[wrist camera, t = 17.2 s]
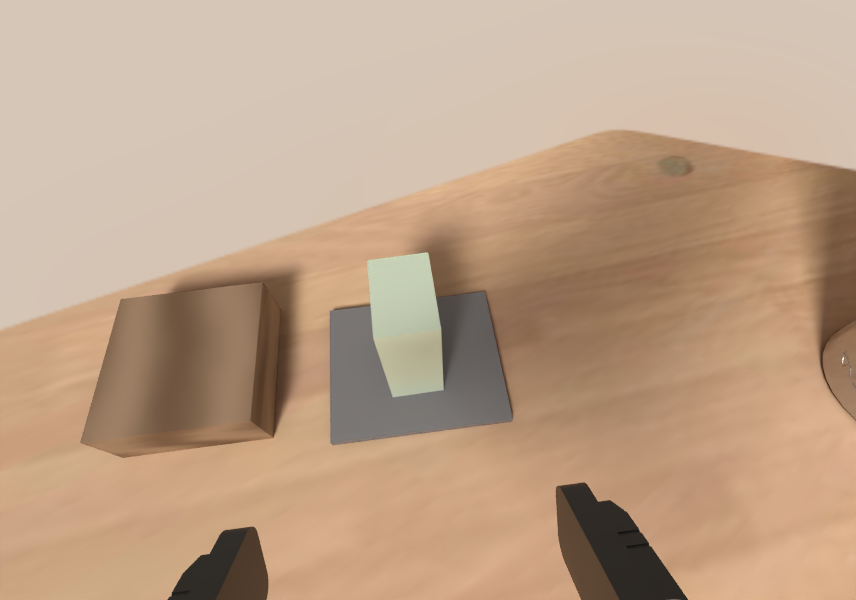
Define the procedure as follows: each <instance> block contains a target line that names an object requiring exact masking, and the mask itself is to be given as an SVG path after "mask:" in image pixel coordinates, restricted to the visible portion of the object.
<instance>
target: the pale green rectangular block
mask: <svg viewBox="0 0 856 600" xmlns="http://www.w3.org/2000/svg"><path fill="white" fill-rule="evenodd" d="M367 265H368V278H369V290H370V303H371V316H372V329H373V339H374V342H375V345H376V348H377V351H378V354H379V357H380V360H381V363H382V366H383V369H384V372H385V375H386V378H387V381H388V384H389V387H390V390H391V393H392V396H393V397H399V396H406V395H413V394H420V393H427V392H434V391H441V390H444V387H443V362H442V337H441V325H440V319H439V313H438V307H437V301H436V295H435V290H434V284H433V278H432V272H431V266H430V260H429V254H428V252H426V253H419V254H411V255H404V256H396V257H389V258H381V259H374V260H367Z"/></svg>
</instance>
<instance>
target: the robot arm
mask: <svg viewBox="0 0 856 600" xmlns="http://www.w3.org/2000/svg"><path fill="white" fill-rule="evenodd" d="M823 369H824V372H825V376H826V380H827V382H828V384H829V386H830V388H831V390H832V392H833V394H834V395H835V396H836V398H837V399H838V400H839V402H840V403H841V404H842V406H843V407H844V408H845V409H846V410H847V411H848V412H849V413H850V414H851V415H852V416H853V417H854V418H855V419H856V320H855V321H853V322H852V323H850V324H848V325H847V326H845V327H844V328H842V329H840V330H839V331H838V332H836V333H835V334H833V335H832V336H831V338H830V339H829V340H828V342H827V343H826V345H825V349H824V352H823ZM556 504H557V522H558V537H559V543H560V548H561V552H562V555H563V558H564V561H565V563H566V566H567V568H568V570H569V572H570V575H571V577H572V579H573V582H574V584H575V586H576V589H577V591H578V593H579V595H580V598H581V600H688V599H687V597H686V596H685V595H684V593H683V592H682V590H681V589H680V587H679V586H678V585H677V583H676V582H675V580H674V579H673V577H672V576H671V574H670V573H669V572H668V570H667V569H666V567H665V566H664V564H663V563H662V562H661V560H660V559H659V557H658V556H657V554H656V553H655V552H654V550H653V549H652V547H650V546H649V543H648V541H647V540H646V539H645V537H644V536H643V534H642V533H640V531H639V529H638V527H637V526H636V524H635V523H634V521H633V520H632V519H631V517H630V516H629V514H628V513H627V512H626V511H624V510H623V509H621V508H620V507H619V506H617V505H616V504H615V503H613V502H612V501H610V500H608V501H601V502H598V501H597V500H596V498H595V496H594V495H593V493H592V492H591V490H590V488H589V487H588V485H587V484H586V483H576V484H569V485H562V486H557V487H556ZM267 594H268V574H267V569H266V565H265V561H264V557H263V553H262V549H261V545H260V541H259V537H258V533H257V530H256V529H255V527H246V528H239V529H231V530H225V531H223V532H222V533H221V534H220V536H219V538H218V540H217V541H216V543H215V545H214V547H213V549H212V551H211V553H210V554H207V555H201V556H200V557H199V558H198V559H197V560H196V561H195V562H194V563H193V564H192V565H191V566H190V567H189V568H188V569H187V570H186V571H185V572H184V573H183V574H182V576H181V578H180V580H179V581H178V583H177V585H176V586H175V588H174V590H173V592H172V596H171V597H169V599H168V600H266V599H267Z"/></svg>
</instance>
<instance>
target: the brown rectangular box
mask: <svg viewBox="0 0 856 600" xmlns="http://www.w3.org/2000/svg"><path fill="white" fill-rule="evenodd" d="M280 318H281V309H280V308H279V306H278V305H277V303H276V302H275V300H274V299H273V297H272V295H271V294H270V292H269V291H268V289H267V288H266V286H265V285H264V283H263V282H258V283H250V284H242V285H234V286H226V287H217V288H209V289H201V290H193V291H185V292H177V293H169V294H160V295H152V296H144V297H136V298H128V299H121V301H120V304H119V308H118V311H117V315H116V318H115V322H114V325H113V329H112V332H111V336H110V339H109V343H108V346H107V350H106V354H105V357H104V361H103V364H102V368H101V371H100V375H99V378H98V382H97V385H96V389H95V392H94V396H93V400H92V403H91V407H90V410H89V414H88V417H87V421H86V424H85V428H84V431H83V435H82V438H81V442H80V443H82V444H85V445H88V446H91V447H94V448H97V449H99V450H102V451H105V452H108V453H111V454H114V455H117V456H120V457H123V458H124V457H131V456H139V455H146V454H154V453H162V452H169V451H177V450H184V449H192V448H200V447H207V446H215V445H222V444H230V443H238V442H245V441H253V440H261V439H268V438H273V432H274V416H275V399H276V383H277V367H278V350H279V334H280Z"/></svg>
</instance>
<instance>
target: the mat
mask: <svg viewBox="0 0 856 600" xmlns="http://www.w3.org/2000/svg"><path fill="white" fill-rule="evenodd" d="M436 301H437V307H438V313H439V319H440V325H441V337H442V362H443V387H444V390H441V391H434V392H427V393H420V394H413V395H406V396H399V397H393V396H392V393H391V390H390V387H389V384H388V381H387V378H386V375H385V372H384V369H383V366H382V363H381V360H380V357H379V354H378V351H377V348H376V345H375V342H374V339H373V329H372V316H371V306H365V307H357V308H349V309H341V310H333V311H330V423H331V444H332V445H337V444H345V443H352V442H360V441H368V440H375V439H383V438H390V437H398V436H405V435H413V434H421V433H428V432H436V431H443V430H451V429H458V428H466V427H473V426H481V425H489V424H496V423H504V422H511V421H512V420H513V417H512V413H511V408H510V404H509V399H508V395H507V390H506V386H505V381H504V377H503V372H502V367H501V363H500V358H499V354H498V349H497V345H496V340H495V336H494V331H493V327H492V322H491V318H490V313H489V309H488V304H487V299H486V295H485V292H477V293H469V294H461V295H453V296H445V297H437V298H436Z"/></svg>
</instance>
